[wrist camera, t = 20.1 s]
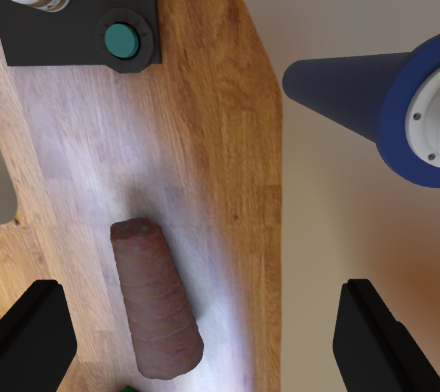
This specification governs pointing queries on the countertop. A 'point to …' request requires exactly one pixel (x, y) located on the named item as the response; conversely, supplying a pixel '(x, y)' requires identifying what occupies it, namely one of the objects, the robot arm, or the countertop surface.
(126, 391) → the milk carton
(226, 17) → the countertop surface
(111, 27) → the button
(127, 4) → the scale
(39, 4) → the pill bottle
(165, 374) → the food
